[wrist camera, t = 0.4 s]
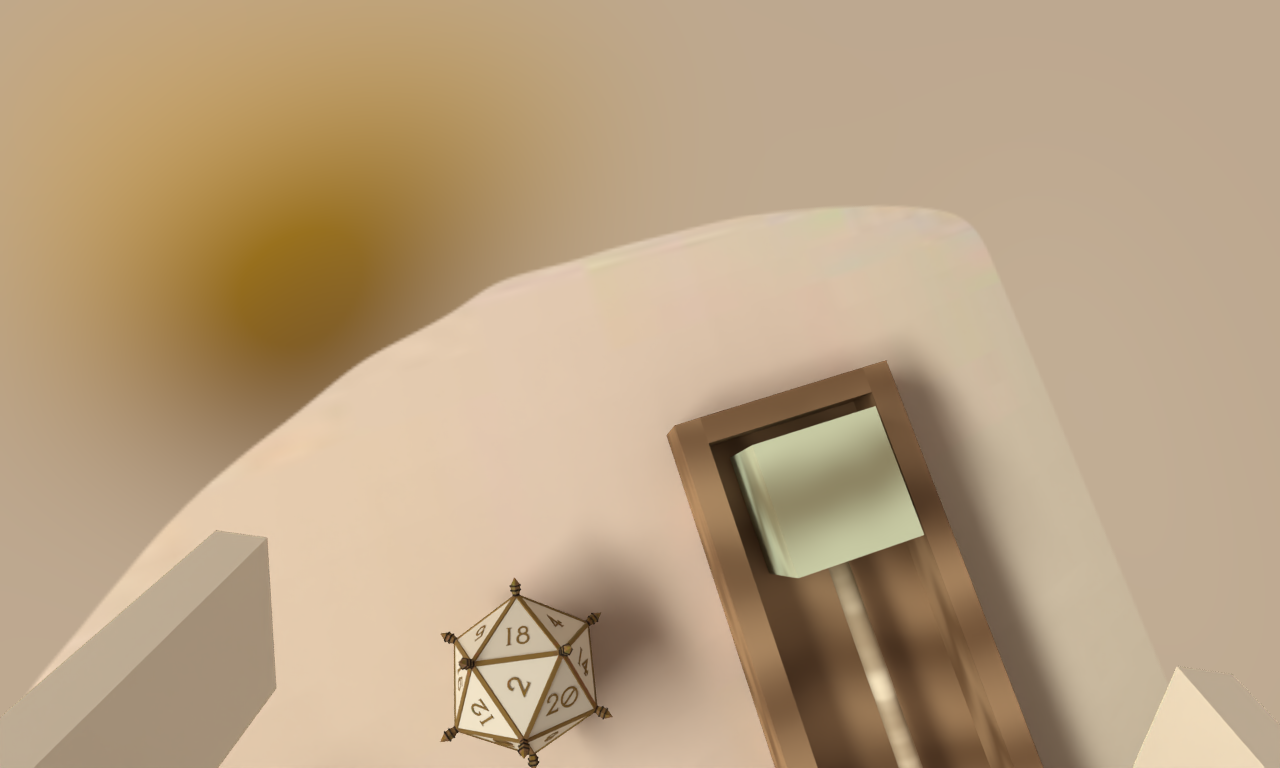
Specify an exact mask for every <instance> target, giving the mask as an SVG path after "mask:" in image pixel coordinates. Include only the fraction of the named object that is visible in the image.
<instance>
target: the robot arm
mask: <svg viewBox="0 0 1280 768" xmlns="http://www.w3.org/2000/svg"><path fill="white" fill-rule="evenodd" d="M275 689H276V675H275V658H274V641H273V625H272V608H271V591H270V575H269V558H268V541H267V537H260V536H252V535H245V534H238V533H231V532H224V531H217V530H216V531H215V532H214V533H212V534H211V535H210V536H209V537H208V538H207V539H206V540H204V541H203V542H202V543H201V544H200V545H199V546H197V547H196V548H195V549H194V550H193V551H192V552H190V553H189V554H188V555H187V556H186V557H185V558H184V559H182V560H181V561H180V562H179V563H178V564H177V565H175V566H174V567H173V568H172V569H171V570H170V571H169V572H167V573H166V574H165V575H164V576H163V577H162V578H160V579H159V580H158V581H157V582H156V583H155V584H153V585H152V586H151V587H150V588H149V589H148V590H147V591H145V592H144V593H143V594H142V595H141V596H140V597H138V598H137V599H136V600H135V601H134V602H133V603H132V604H130V605H129V606H128V607H127V608H126V609H125V610H123V611H122V612H121V613H120V614H119V615H118V616H116V617H115V618H114V619H113V620H112V621H111V622H110V623H108V624H107V625H106V626H105V627H104V628H103V629H101V630H100V631H99V632H98V633H97V634H96V635H95V636H93V637H92V638H91V639H90V640H89V641H88V642H86V643H85V644H84V645H83V646H82V647H81V648H79V649H78V650H77V651H76V652H75V653H74V654H73V655H71V656H70V657H69V658H68V659H67V660H66V661H64V662H63V663H62V664H61V665H60V666H59V667H58V668H56V669H55V670H54V671H53V672H52V673H51V674H49V675H48V676H47V677H46V678H45V679H44V680H42V681H41V682H40V683H39V684H38V685H37V686H36V687H34V688H33V689H32V690H31V691H30V692H29V693H27V694H26V695H25V696H24V697H23V698H22V699H20V700H19V701H18V702H17V703H16V704H15V705H14V706H12V707H11V708H10V709H9V710H8V711H7V712H6V713H4V714H3V715H2V716H1V717H0V768H218V767H219V766H220V764H221V763H222V762H223V760H224V759H225V758H226V756H227V755H228V753H229V752H230V751H231V749H232V748H233V747H234V745H235V744H236V743H237V741H238V740H239V738H240V737H241V736H242V734H243V733H244V732H245V730H246V729H247V728H248V726H249V725H250V723H251V722H252V721H253V719H254V718H255V717H256V715H257V714H258V713H259V711H260V710H261V708H262V707H263V706H264V704H265V703H266V702H267V700H268V699H269V698H270V696H271V695H272V693H273V692H274V691H275ZM1133 768H1280V724H1279V723H1278V722H1277V721H1276V720H1275V718H1274V717H1273V716H1272V715H1271V714H1270V713H1269V712H1268V711H1267V710H1266V709H1265V708H1264V707H1263V706H1262V705H1261V704H1260V703H1259V702H1258V701H1257V700H1256V699H1255V697H1254V696H1252V694H1251V693H1250V692H1249V691H1248V690H1247V689H1246V688H1245V687H1244V686H1243V685H1242V684H1241V683H1240V682H1239V681H1238V680H1237V679H1236V678H1235V677H1234V676H1233V675H1232V674H1228V673H1222V672H1214V671H1207V670H1200V669H1193V668H1186V667H1179V666H1177V668H1176V670H1175V672H1174V674H1173V677H1172V679H1171V681H1170V683H1169V686H1168V688H1167V690H1166V693H1165V695H1164V697H1163V699H1162V702H1161V704H1160V706H1159V708H1158V711H1157V713H1156V715H1155V718H1154V720H1153V722H1152V724H1151V727H1150V729H1149V731H1148V733H1147V736H1146V738H1145V740H1144V743H1143V745H1142V747H1141V749H1140V752H1139V754H1138V756H1137V758H1136V761H1135V763H1134V765H1133Z"/></svg>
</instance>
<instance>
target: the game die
mask: <svg viewBox="0 0 1280 768" xmlns="http://www.w3.org/2000/svg"><path fill="white" fill-rule="evenodd" d="M520 586H521V584H519V583H518V582H517V580H516V579H515V577H514V579H513V582H512V584H511V585H510V587H511V590H510V591H511V592H512V594H513V596H512V597H511V598H510V599H508V600H507V601H506V602H504V603H503V604H502V605H500V606H499V607H498V608H496V609H495V610H494V611H492V612H491V613H490V614H488V615H487V616H486V617H484V618H483V619H482V620H480V621H479V622H478V623H477V624H475V625H474V626H473V627H471V628H470V629H469V630H467V631H466V632H465V633H463V634H462V635H461V636H459V637H458V638H457V637H455V636H454V634H451V633H450V632H448V633H442V634H441V635H442V637H443V639H444V641H445V642H448V643H449V644H450V643H453V644H454V714H455V726H454V727H453V728H451V729H448V730H447V731H446V732H445V731H444V735H443V737H442V739H441V742H445V741H450V742H451V739H452V738H455V735H456V734H457V733H458V732H460V733H463V734H466V735H470V736H473V737H476V738H479V739H482V740H485V741H488V742H491V743H494V744H498V745H501V746H504V747H507V748H510V749H513V750H516V751H518V753H519V754H520V755H521V756H522V757H523V758H525V757H526V756H527V755H529V758H528V760H529V763H528V765H529V766H530V767H531V768H536V766H537V765H538V763H539V761H538V757H537V755H536V753H537V752H538V751H540V750H541V749H543V748H544V747H546V746H547V745H548V744H550V743H551V742H553V741H554V740H556V739H557V738H558V737H560V736H561V735H563V734H564V733H566V732H567V731H568V730H570V729H571V728H573V727H574V726H576V725H577V724H579V723H580V722H581V721H583V720H584V719H586V718H587V717H589V716H590V715H591V714H593V713H596V714H597V715H598V717H602V719H604V718H609V717H612V715H611V714H610V712H609V711H608V708H607V709H606V708H604V706H602V707H599V706H597V699H596V689H595V679H594V670H593V660H592V650H591V640H590V630H589V626H590V625H592V624H595V622H598V619H599V616H600V614H601V613H591V615H590V616H588V619H587V620H585V621H584V620H582V619H579V618H577V617H574V616H572V615H569V614H567V613H564V612H562V611H559V610H556V609H554V608H551V607H549V606H546V605H544V604H541V603H539V602H536V601H534V600H531V599H529V598H526V597H524V596H521V595H520V594H519V593H520V590H521V589H520Z"/></svg>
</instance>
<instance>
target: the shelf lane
mask: <svg viewBox="0 0 1280 768" xmlns="http://www.w3.org/2000/svg"><path fill="white" fill-rule="evenodd" d="M874 406H876V409H877V411H878V414H879V417H880V419H881V422H882V425H883V427H884V430H885V433H886V435H887V438H888V440H889V443H890V446H891V448H892V451H893V454H894V456H895V459H896V462H897V464H898V467H899V469H900V472H901V475H902V477H903V480H904V483H905V485H906V488H907V491H908V493H909V496H910V499H911V501H912V504H913V506H914V509H915V512H916V514H917V517H918V520H919V522H920V525H921V528H922V530H923V533H924V535H923V536H920V537H917V538H914V539H911V540H908V541H905V542H902V543H899V544H896V545H894V546H891V547H888V548H885V549H882V550H879V551H876V552H873V553H870V554H867V555H865V556H862V557H859V558H856V559H853V560H850V561H849V563H850V566H851V569H852V572H853V575H854V577H855V580H856V583H857V586H858V588H859V591H860V594H861V597H862V600H863V602H864V605H865V608H866V611H867V614H868V616H869V619H870V622H871V625H872V627H873V630H874V633H875V636H876V639H877V641H878V644H879V647H880V650H881V653H882V655H883V658H884V661H885V664H886V666H887V669H888V672H889V675H890V678H891V680H892V683H893V686H894V689H895V691H896V694H897V697H898V700H899V703H900V705H901V708H902V711H903V714H904V717H905V719H906V722H907V725H908V728H909V730H910V733H911V736H912V739H913V742H914V744H915V747H916V750H917V753H918V756H919V758H920V761H921V764H922V767H923V768H1043V766H1042V763H1041V761H1040V758H1039V755H1038V753H1037V750H1036V748H1035V745H1034V742H1033V740H1032V737H1031V735H1030V732H1029V729H1028V727H1027V724H1026V722H1025V719H1024V717H1023V714H1022V711H1021V709H1020V706H1019V704H1018V701H1017V698H1016V696H1015V693H1014V691H1013V688H1012V685H1011V683H1010V680H1009V678H1008V675H1007V672H1006V670H1005V667H1004V665H1003V662H1002V659H1001V657H1000V654H999V652H998V649H997V646H996V644H995V641H994V639H993V636H992V633H991V631H990V628H989V626H988V623H987V621H986V618H985V615H984V613H983V610H982V608H981V605H980V602H979V600H978V597H977V595H976V592H975V589H974V587H973V584H972V582H971V579H970V576H969V574H968V571H967V569H966V566H965V563H964V561H963V558H962V556H961V553H960V550H959V548H958V545H957V543H956V540H955V538H954V535H953V532H952V530H951V527H950V525H949V522H948V519H947V517H946V514H945V512H944V509H943V506H942V504H941V501H940V499H939V496H938V493H937V491H936V488H935V486H934V483H933V480H932V478H931V475H930V473H929V470H928V467H927V465H926V462H925V460H924V457H923V454H922V452H921V449H920V447H919V444H918V442H917V439H916V436H915V434H914V431H913V429H912V426H911V423H910V421H909V418H908V416H907V413H906V410H905V408H904V405H903V403H902V400H901V397H900V395H899V392H898V390H897V387H896V384H895V382H894V379H893V377H892V374H891V371H890V369H889V366H888V364H887V361H886V360H885V361H882V362H879V363H876V364H872V365H869V366H866V367H863V368H860V369H856V370H853V371H850V372H847V373H843V374H840V375H837V376H834V377H830V378H827V379H824V380H821V381H817V382H814V383H811V384H808V385H804V386H801V387H798V388H795V389H791V390H788V391H785V392H782V393H778V394H775V395H772V396H769V397H766V398H762V399H759V400H756V401H753V402H749V403H746V404H743V405H740V406H736V407H733V408H730V409H727V410H723V411H720V412H717V413H714V414H710V415H707V416H704V417H701V418H697V419H694V420H691V421H688V422H684V423H681V424H678V425H675V426H674V427H673V428H672V429H671V431H670V432H669V433H668V434H667V438H668V441H669V444H670V447H671V450H672V453H673V456H674V459H675V462H676V465H677V468H678V471H679V475H680V478H681V481H682V484H683V487H684V490H685V493H686V496H687V499H688V502H689V505H690V508H691V511H692V514H693V517H694V520H695V523H696V527H697V530H698V533H699V536H700V539H701V542H702V545H703V548H704V551H705V554H706V557H707V560H708V563H709V566H710V569H711V572H712V576H713V579H714V582H715V585H716V588H717V591H718V594H719V597H720V600H721V603H722V606H723V609H724V612H725V615H726V618H727V621H728V624H729V628H730V631H731V634H732V637H733V640H734V643H735V646H736V649H737V652H738V655H739V658H740V661H741V664H742V667H743V670H744V673H745V676H746V680H747V683H748V686H749V689H750V692H751V695H752V698H753V701H754V704H755V707H756V710H757V713H758V716H759V719H760V722H761V725H762V728H763V732H764V735H765V738H766V741H767V744H768V747H769V750H770V753H771V756H772V759H773V762H774V765H775V768H899V767H898V764H897V761H896V759H895V756H894V753H893V750H892V747H891V745H890V742H889V739H888V736H887V733H886V730H885V728H884V725H883V722H882V719H881V716H880V713H879V711H878V708H877V705H876V702H875V699H874V696H873V694H872V691H871V688H870V685H869V682H868V680H867V677H866V674H865V671H864V668H863V665H862V663H861V660H860V657H859V654H858V651H857V648H856V646H855V643H854V640H853V637H852V634H851V631H850V629H849V626H848V623H847V620H846V617H845V615H844V612H843V609H842V606H841V603H840V600H839V598H838V595H837V592H836V589H835V586H834V583H833V581H832V578H831V575H830V572H829V569H828V568H827V569H824V570H821V571H818V572H815V573H812V574H810V575H807V576H804V577H801V578H793V577H787V576H781V575H775V574H769V571H768V569H767V566H766V563H765V560H764V557H763V554H762V551H761V548H760V545H759V542H758V539H757V536H756V533H755V530H754V527H753V524H752V521H751V518H750V516H749V513H748V510H747V507H746V504H745V501H744V498H743V495H742V492H741V489H740V486H739V483H738V480H737V477H736V474H735V471H734V468H733V466H732V463H731V460H730V457H732V456H734V455H736V454H737V453H739V452H741V451H743V450H745V449H746V448H748V447H750V446H752V445H754V444H758V443H761V442H764V441H767V440H770V439H773V438H777V437H780V436H783V435H786V434H789V433H792V432H796V431H799V430H802V429H805V428H808V427H811V426H814V425H818V424H821V423H824V422H827V421H830V420H833V419H837V418H840V417H843V416H846V415H849V414H852V413H856V412H859V411H862V410H865V409H868V408H871V407H874Z"/></svg>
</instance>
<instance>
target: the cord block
mask: <svg viewBox="0 0 1280 768" xmlns="http://www.w3.org/2000/svg"><path fill="white" fill-rule="evenodd" d="M730 460H731V463H732V466H733V468H734V471H735V474H736V477H737V480H738V483H739V486H740V489H741V492H742V495H743V498H744V501H745V504H746V507H747V510H748V513H749V516H750V518H751V521H752V524H753V527H754V530H755V533H756V536H757V539H758V542H759V545H760V548H761V551H762V554H763V557H764V560H765V563H766V566H767V569H768V571H769V574H775V575H781V576H787V577H793V578H801V577H804V576H807V575H810V574H812V573H815V572H818V571H821V570H824V569H827V568H828V569H829V572H830V575H831V578H832V581H833V583H834V586H835V589H836V592H837V595H838V598H839V600H840V603H841V606H842V609H843V612H844V615H845V617H846V620H847V623H848V626H849V629H850V631H851V634H852V637H853V640H854V643H855V646H856V648H857V651H858V654H859V657H860V660H861V663H862V665H863V668H864V671H865V674H866V677H867V680H868V682H869V685H870V688H871V691H872V694H873V696H874V699H875V702H876V705H877V708H878V711H879V713H880V716H881V719H882V722H883V725H884V728H885V730H886V733H887V736H888V739H889V742H890V745H891V747H892V750H893V753H894V756H895V759H896V761H897V764H898V767H899V768H923V767H922V764H921V761H920V758H919V756H918V753H917V750H916V747H915V744H914V742H913V739H912V736H911V733H910V730H909V728H908V725H907V722H906V719H905V717H904V714H903V711H902V708H901V705H900V703H899V700H898V697H897V694H896V691H895V689H894V686H893V683H892V680H891V678H890V675H889V672H888V669H887V666H886V664H885V661H884V658H883V655H882V653H881V650H880V647H879V644H878V641H877V639H876V636H875V633H874V630H873V627H872V625H871V622H870V619H869V616H868V614H867V611H866V608H865V605H864V602H863V600H862V597H861V594H860V591H859V588H858V586H857V583H856V580H855V577H854V575H853V572H852V569H851V566H850V563H849V561H850V560H853V559H856V558H859V557H862V556H865V555H867V554H870V553H873V552H876V551H879V550H882V549H885V548H888V547H891V546H894V545H896V544H899V543H902V542H905V541H908V540H911V539H914V538H917V537H920V536H923V535H924V533H923V530H922V528H921V525H920V522H919V520H918V517H917V514H916V512H915V509H914V506H913V504H912V501H911V499H910V496H909V493H908V491H907V488H906V485H905V483H904V480H903V477H902V475H901V472H900V469H899V467H898V464H897V462H896V459H895V456H894V454H893V451H892V448H891V446H890V443H889V440H888V438H887V435H886V433H885V430H884V427H883V425H882V422H881V419H880V417H879V414H878V411H877V409H876V406H874V407H871V408H868V409H865V410H862V411H859V412H856V413H852V414H849V415H846V416H843V417H840V418H837V419H833V420H830V421H827V422H824V423H821V424H818V425H814V426H811V427H808V428H805V429H802V430H799V431H796V432H792V433H789V434H786V435H783V436H780V437H777V438H773V439H770V440H767V441H764V442H761V443H758V444H754V445H752V446H750V447H748V448H746V449H745V450H743V451H741V452H739V453H737V454H736V455H734V456H732V457H730Z"/></svg>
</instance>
